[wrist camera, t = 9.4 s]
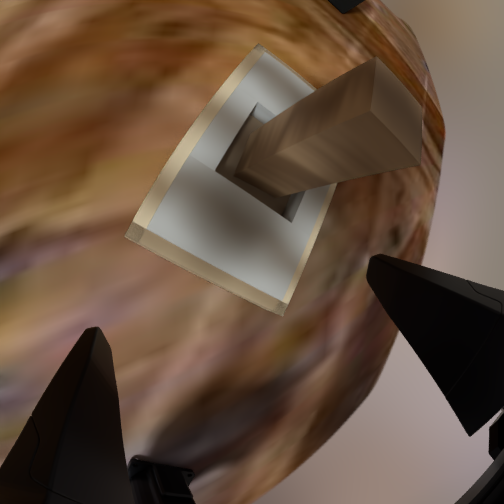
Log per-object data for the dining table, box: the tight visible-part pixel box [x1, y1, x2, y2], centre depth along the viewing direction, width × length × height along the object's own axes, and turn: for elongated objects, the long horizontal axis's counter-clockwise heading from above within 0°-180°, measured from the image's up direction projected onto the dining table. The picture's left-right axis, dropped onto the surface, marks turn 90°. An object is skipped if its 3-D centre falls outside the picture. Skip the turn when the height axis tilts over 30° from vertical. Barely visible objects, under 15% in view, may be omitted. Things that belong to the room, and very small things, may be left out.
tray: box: [124, 44, 337, 316], centre depth 22 cm, size 20×13×3 cm, turn 152°
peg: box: [233, 57, 422, 198], centre depth 16 cm, size 4×4×13 cm
